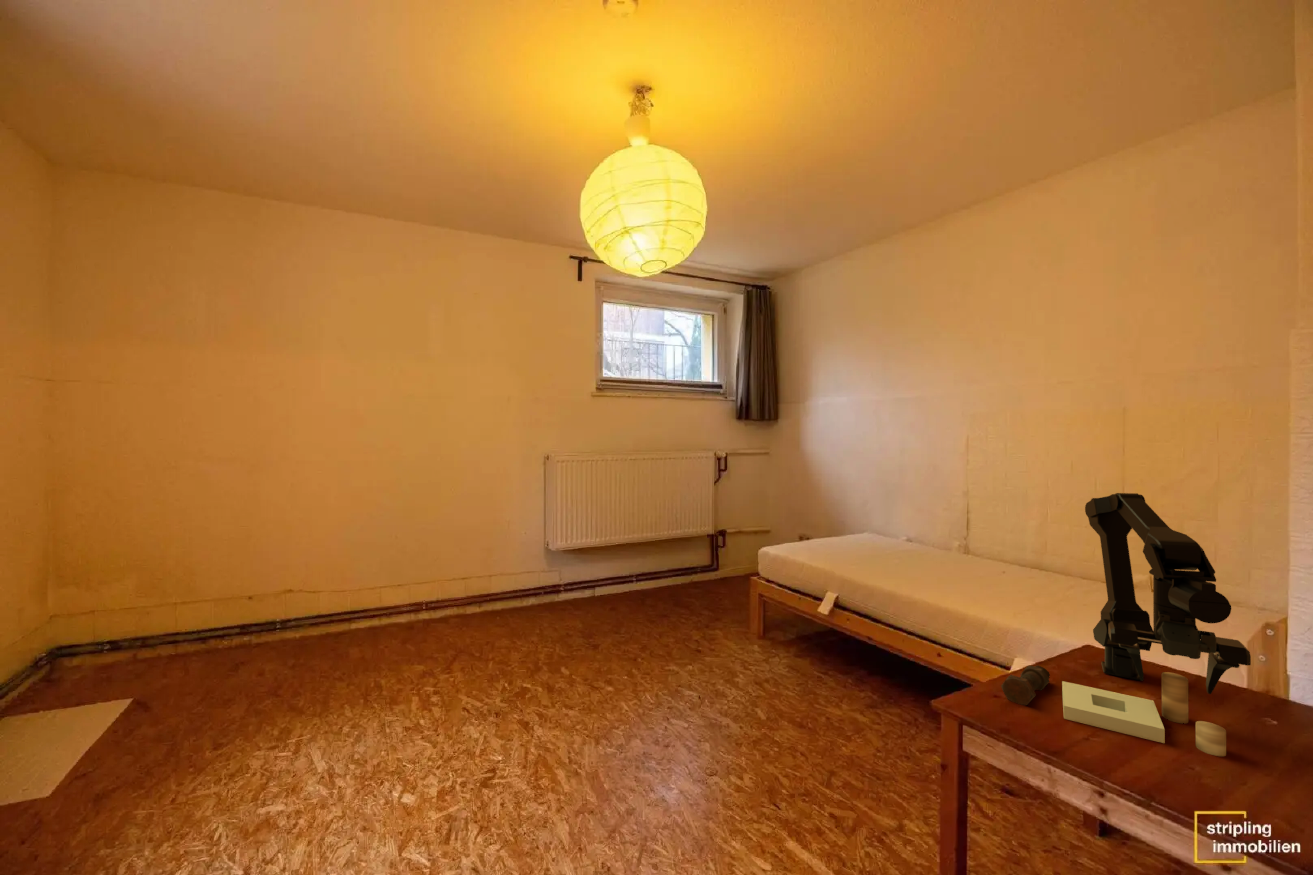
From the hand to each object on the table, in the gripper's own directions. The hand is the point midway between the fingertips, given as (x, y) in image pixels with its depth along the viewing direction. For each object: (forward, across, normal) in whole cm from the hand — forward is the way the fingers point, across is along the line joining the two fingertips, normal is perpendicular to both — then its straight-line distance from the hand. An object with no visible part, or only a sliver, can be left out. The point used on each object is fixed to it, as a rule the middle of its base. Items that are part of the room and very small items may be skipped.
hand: (1174, 686), depth 100 cm
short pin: (+6, +3, -10) cm, 12 cm away
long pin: (+6, 0, 0) cm, 6 cm away
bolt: (+7, -22, -3) cm, 23 cm away
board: (+6, -10, -6) cm, 13 cm away
